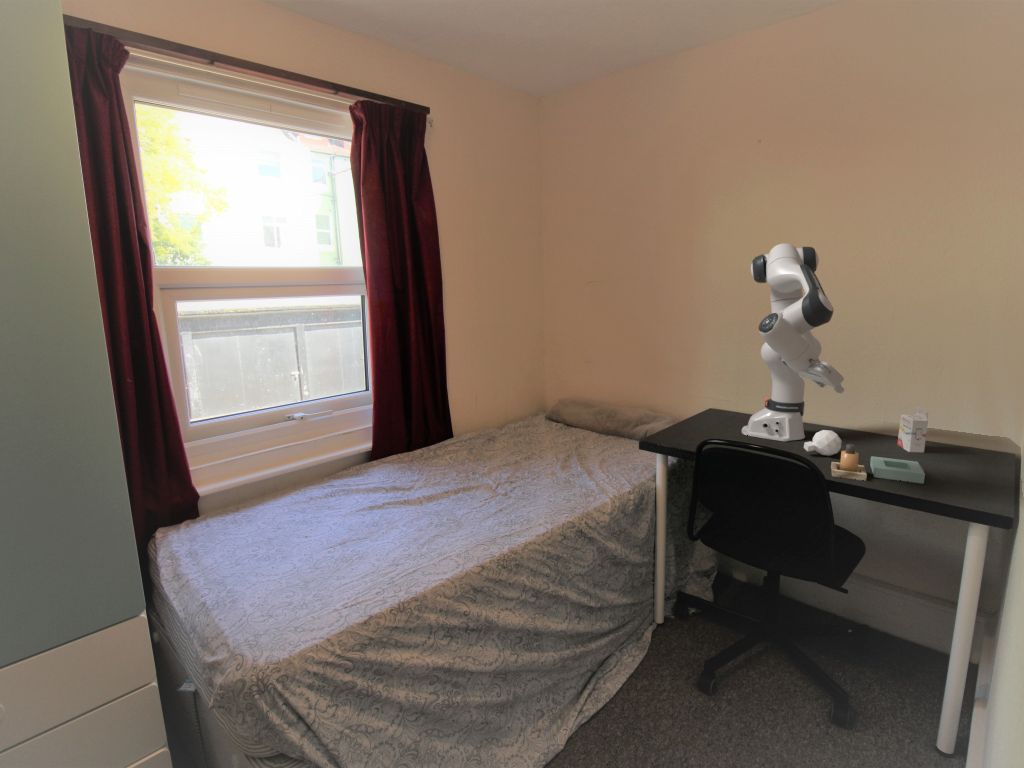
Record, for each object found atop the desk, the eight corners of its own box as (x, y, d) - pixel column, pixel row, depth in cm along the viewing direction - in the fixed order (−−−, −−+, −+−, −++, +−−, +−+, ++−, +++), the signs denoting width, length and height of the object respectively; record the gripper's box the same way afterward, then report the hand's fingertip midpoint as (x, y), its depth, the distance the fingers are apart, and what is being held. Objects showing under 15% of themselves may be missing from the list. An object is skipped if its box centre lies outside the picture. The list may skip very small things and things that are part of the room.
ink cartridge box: (896, 445, 190) (900, 405, 188) (911, 445, 189) (916, 406, 187) (908, 452, 182) (913, 411, 179) (924, 453, 181) (930, 412, 178)
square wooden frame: (832, 476, 162) (832, 470, 161) (830, 467, 169) (831, 461, 169) (866, 481, 157) (866, 474, 157) (863, 471, 165) (863, 465, 165)
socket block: (874, 477, 160) (875, 467, 160) (870, 464, 171) (871, 456, 170) (923, 483, 155) (925, 474, 154) (916, 470, 165) (917, 461, 164)
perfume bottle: (828, 444, 187) (796, 449, 187) (833, 423, 183) (800, 428, 182) (845, 458, 180) (811, 464, 179) (850, 437, 175) (816, 442, 175)
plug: (839, 475, 162) (842, 446, 161) (838, 470, 166) (841, 442, 165) (857, 477, 160) (860, 448, 158) (855, 472, 164) (859, 444, 162)
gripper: (829, 354, 148) (861, 387, 149) (793, 346, 168) (822, 375, 169) (812, 370, 149) (844, 403, 150) (778, 360, 169) (807, 389, 170)
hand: (832, 388), depth 160 cm, fingers open, 8 cm apart
